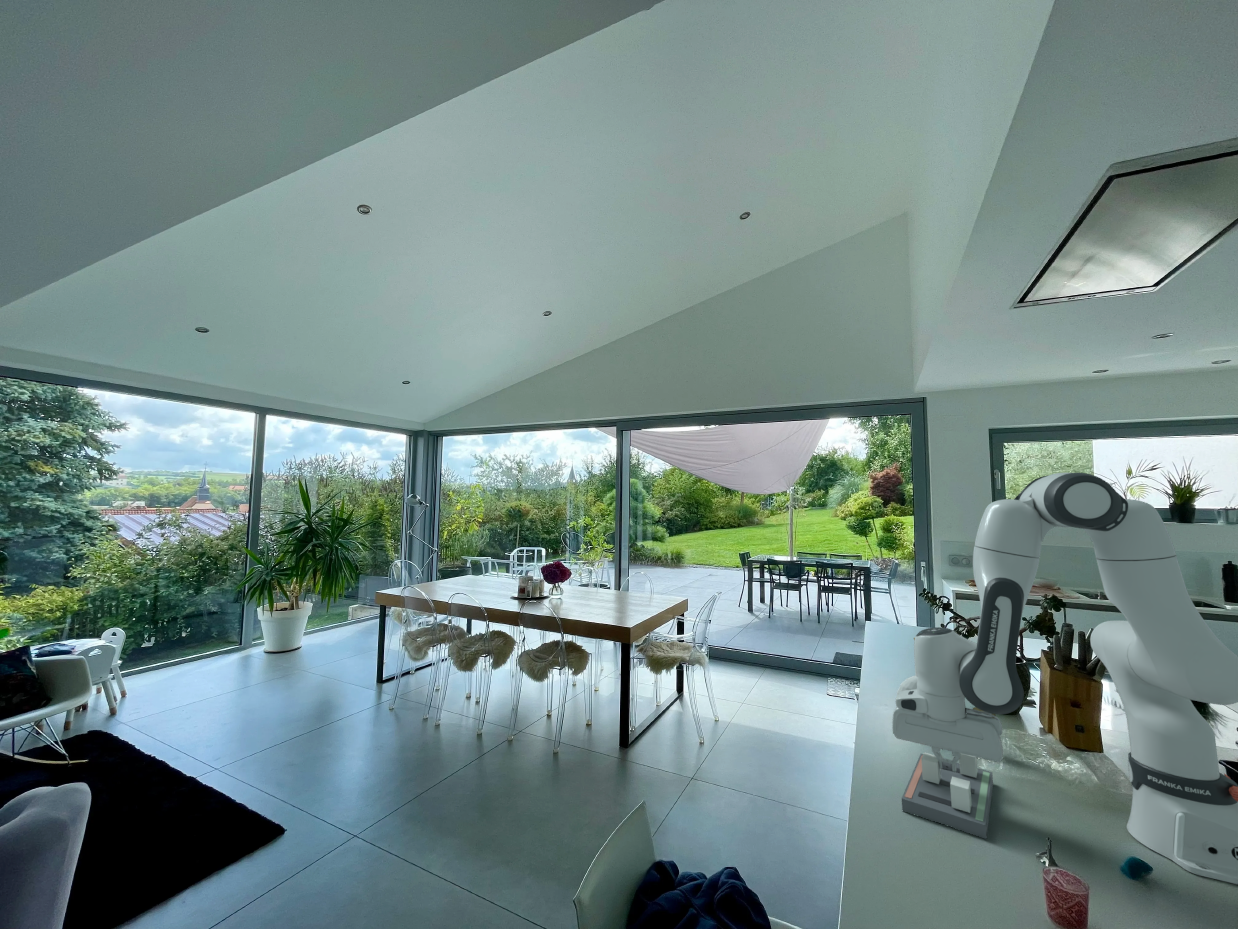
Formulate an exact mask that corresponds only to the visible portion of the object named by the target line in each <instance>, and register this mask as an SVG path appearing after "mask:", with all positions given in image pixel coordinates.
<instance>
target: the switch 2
mask: <svg viewBox="0 0 1238 929" xmlns="http://www.w3.org/2000/svg"><path fill="white" fill-rule="evenodd" d="M950 790H951V803H952V807H953V808H956V809H959V810H962V811H966V812H969V813H970V811H971V805H972V802H971V789H970V781H967V780H963V779H960V778H956V777H953V776H952V779H951V783H950Z"/></svg>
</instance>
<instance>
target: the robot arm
mask: <svg viewBox="0 0 1238 929" xmlns="http://www.w3.org/2000/svg"><path fill="white" fill-rule="evenodd" d="M1056 527H1058V528H1059V527H1060V528H1076V529H1081V530H1083V531H1085V533H1086V534H1087V535H1088V537H1089V538H1090V541H1091V542H1092V545H1093V551H1094V554H1095V560H1096V564H1097V568H1098V572H1099V576H1100V580H1101V583H1102V588H1103V591H1104V594H1105V596H1106V598H1107V599H1108V601H1109V602H1110V603H1111V604H1112V605H1114V606H1115V607H1116V608H1117V609H1118V610H1119V612H1121V614H1122V615H1123V616H1124V618H1125V619H1126V620H1106V621H1104V622H1103V621H1102V622H1101V623H1099V624H1097V626H1095V627H1094V628H1093V630H1092V632H1091V634H1090V638H1089V639H1090V640H1089V641H1090V647H1091V649H1092V651H1093V653H1094V654H1095V655H1096V657H1097V658H1098V659H1099V660H1100V661H1101V662H1102V664H1103V666H1104V667H1105V669H1106V670H1107V672H1108V674H1109V676H1110V678H1111V680H1112V682H1113V685H1114V686H1115V688H1116V691H1117V693H1118V696H1119V699H1120V700H1121V703H1122V706H1123V710H1124V713H1125V717H1126V723H1127V731H1128V738H1129V740H1128V741H1129V747H1130V748H1129V749H1130V752H1128V754H1127V755H1128V757H1127V758H1128V759H1127V768H1128V775H1129V776H1128V777H1129V782H1130V784H1131V786H1132V801H1131V808H1130V814H1129V816H1128V821H1127V823H1126V830H1127V831H1128V833H1129V834H1130V835H1131V836H1132V838H1134V839H1135V840H1136V841H1137V842H1139V843H1141V844H1142V845H1143V846H1145V847H1147V848H1149V849H1151V850H1152V851H1154V852H1156V853H1158V854H1160V855H1162V856H1163V857H1165V858H1167V859H1170V860H1171V861H1173V863H1175V864H1177V865H1178V866H1179V867H1181V868H1183V869H1184V870H1186V871H1187V872H1190V873H1192V874H1195V875H1197V876H1202V877H1205V878H1210V879H1215V880H1218V881H1221V882H1226V883H1231V884H1234V885H1238V783H1237V782H1235V781H1234V780H1233V779H1231V777H1230V776H1228V775H1227V774H1226V773H1224V774H1223V773H1221V772H1220V767H1219V758H1218V750H1217V742H1216V733H1215V731H1214V730H1213V728H1212V726H1211V725H1210V723H1209V722H1208V721H1207V720H1206V719H1205V718H1204V717H1203V716H1202V715H1201V714H1200V712H1199V711H1198V710H1197V708H1196V706H1194V704H1193V702H1192V701H1197V702H1201V703H1206V704H1212V705H1219V706H1229V705H1234V704H1237V703H1238V655H1237V654H1236V653H1234V652H1233V651H1232V650H1231V649H1230V648H1228V647H1227V645H1225V644H1224V642H1222V640H1220V639H1219V638H1218V637H1217V636H1216V634H1215V633H1214V632H1213V631H1212V629H1211V628H1210V626H1209V625H1208V623H1206V621H1205V619H1204V618H1203V617H1202V615H1201V614H1200V612H1199V610H1198V609H1197V607H1196V606H1195V604H1194V602H1193V600H1192V599H1191V596H1190V594H1189V592H1188V589H1187V586H1186V582H1185V579H1184V576H1183V573H1182V569H1181V566H1180V563H1179V560H1178V555H1177V552H1176V549H1175V546H1174V543H1173V540H1172V537H1171V535H1170V533H1169V531H1168V528H1167V526H1166V525H1165V522H1164V520H1163V519H1162V517H1161V515H1160V514H1159V512H1158V510H1157V509H1156V508H1155V507H1154V506H1153V505H1152V504H1149V503H1148V502H1145V501H1141V500H1139V499H1138V500H1137V499H1128V498H1125V497H1123V496H1122V495H1120V493H1118V492H1117V491H1116V490H1115V488H1114V487H1113V486H1112V485H1111V484H1109V483H1108V482H1107V481H1106V480H1104V479H1103V478H1101V477H1098V476H1096V475H1093V474H1090V473H1086V472H1057V473H1056V472H1055V473H1052V474H1049V475H1048V474H1047V475H1043V476H1040V477H1037V478H1036V479H1033V480H1031V481H1030V482H1029V483H1028V484H1027V485H1026V486H1025V487H1024V488H1023V489H1022V491H1020V493H1018V495H1016V496H1015V498H1014V499H1012V498H1010V499H1009V498H1005V499H998V500H996V501H992V502H990V503H989V504H988V505H987V506H986V508H984V511H983V513H982V516H981V519H980V521H979V525H978V527H977V532H976V536H975V540H974V541H975V542H974V546H973V552H972V571H973V579H974V583H975V585H976V589H977V590H976V591H977V593H978V597H979V604H980V618H979V625H978V631H977V632H978V633H977V637H976V638H977V640H976V642H975V641H972V640H970V639H968V638H966V637H963V636H962V635H959V634H958V633H957V632H956V631H954V630H953V629H951V628H948V627H940V626H939V627H930V628H925V629H922V630H920V631H919V632H917V634H916V635H915V637H914V638H915V640H914V639H913V640H914V641H913V660H914V670H915V669H916V671H917V674H918V682H917V689H914V690H905V691H901V692H900V693H899V694H898V695H897V694H896V698H895V706H896V707H895V709H894V711H893V712H892V721H891V723H892V725H891V726H892V727H891V728H892V729H891V730H892V734H893V735H894V737H896V739H898V740H902V741H906V742H910V743H914V744H918V745H919V744H920V745H922V746H923V745H924V746H928V747H931V752H932V754H933V755H935V756H936V758H937V759H938V760H939V766H940V769H944V770H948V771H952V772H956V763H958V762H959V758H960V755H961V754H966V755H970V756H974V757H977V759H978V758H979V759H983V760H988V761H993V762H996V763H999V762H1001V761H1002V760H1003V758H1004V748H1003V744H1002V739H1001V735H1002V734H1003V725H1002V721H1001V720H1000V719H999V718H998V717H997V715H1007V714H1011V713H1013V712H1014V711H1016V710H1017V709H1019V707H1020V706H1022V703H1023V701H1024V696H1025V695H1024V688H1023V684H1022V681H1021V678H1020V676H1019V673H1018V670H1017V654H1018V653H1017V652H1018V644H1019V638H1020V632H1021V631H1020V629H1021V623H1022V622H1021V621H1022V616H1023V612H1024V609H1025V606H1026V604H1027V601H1028V598H1029V596H1030V592H1031V590H1032V588H1033V586H1034V585H1033V584H1034V582H1035V580H1036V576H1037V572H1038V569H1039V566H1040V565H1039V564H1040V561H1041V552H1042V543H1043V541H1044V539H1045V537H1046V535H1047V534H1048V532H1050V530H1052V529H1053V528H1056ZM966 700H967V701H968V702H969V703H970V704H971V705H972V706H974V707H976V708H978V709H980V710H982V711H984V712H982V711H978V710H974V709H973V708H969V707H966ZM992 714H995V715H996V716H994V715H992ZM992 717H994V718H992ZM941 750H945V751H950V752H951V756H952V757H953V758H952V759H948V758H944V756H943V755H942V753H941Z"/></svg>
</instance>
